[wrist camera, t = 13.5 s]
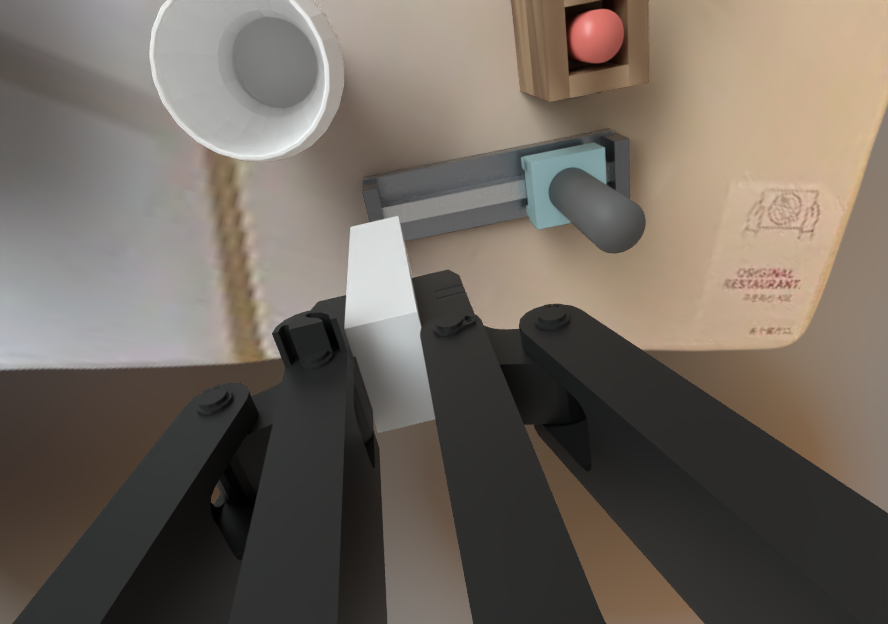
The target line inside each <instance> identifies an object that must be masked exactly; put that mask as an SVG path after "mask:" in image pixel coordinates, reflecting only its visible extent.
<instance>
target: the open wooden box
mask: <svg viewBox="0 0 888 624" xmlns="http://www.w3.org/2000/svg"><path fill="white" fill-rule="evenodd" d="M511 4H512V14H513V24H514V34H515V44H516V53H517V63H518V73H519V83H520V91H522V92H525V93H528V94H530V95H533V96H536V97H539V98H541V99H544V100H547V101H550V102H552V101H557V100H562V99H570V98H575V97H580V96H585V95H590V94H595V93H600V92H603V91H608V90H613V89H618V88H623V87H628V86H633V85H638V84H643V83H648V82H649V43H648V0H511ZM598 9H608V10H611V11H613V12H614V13H616V14H617V15H618V16H619V18H620V19H621V21H622V24H623V28H624V38H623V42H622V45H621V47H620V49H619V51H618V52H617V53H616V54H615V56H613V57H612V58H611V59H610V60H608V61H606V62H603V63H589V62H580V61H572V60H569V59H568V55H567V39H566V24H565V18H566V17H568V16H569V15H571V14H573V13H576V12H583V11H590V10H598Z"/></svg>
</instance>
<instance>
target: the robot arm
mask: <svg viewBox="0 0 888 624" xmlns="http://www.w3.org/2000/svg"><path fill="white" fill-rule="evenodd" d="M272 335H273V337H274V340H275V342H276V345H277V347H278V350H279V352H280V355H281V357H282V360H283V362H284V365H285V371H284V376H283V381H282V382H281V383H279V384H278V385H276V386H274V387H272V388H270V389H268V390H265V391H263V392H260V393H258V394H256V395H254V396H251V394H250V392H249V390H248V388H247V386H245V385H243V384H241V383H228V384H223V385H217V386H214V387H213V388H209V389H207V390H205V391H203V393H201V394H200V395H198V396H196V397H195V398H193V399H192V400H191V401H190V402H189V403H188V404H187V405H186V406H185V407H184V409H183V410H182V411H181V412H180V414H179V415H178V416H177V417H176V419H175V420H174V421H173V423H172V424H171V425H170V426H169V427H168V429H167V430H166V431H165V433H164V434H163V435H162V436H161V438H160V439H159V440H158V441H157V442H156V444H155V445H154V446H153V448H152V449H151V450H150V451H149V453H148V454H147V455H146V456H145V458H144V459H143V460H142V461H141V463H140V464H139V465H138V466H137V468H136V469H135V470H134V471H133V473H132V474H131V475H130V476H129V478H128V479H127V480H126V482H125V483H124V484H123V485H122V487H121V488H120V489H119V490H118V492H117V493H116V494H115V495H114V497H113V498H112V499H111V500H110V502H109V503H108V504H107V505H106V507H105V508H104V509H103V510H102V512H101V513H100V514H99V516H98V517H97V518H96V519H95V520H94V522H93V523H92V524H91V526H90V527H89V528H88V529H87V531H86V532H85V533H84V534H83V536H82V537H81V538H80V539H79V541H78V542H77V543H76V544H75V546H74V547H73V548H72V549H71V551H70V552H69V553H68V555H67V556H66V557H65V558H64V560H63V561H62V562H61V563H60V565H59V566H58V567H57V569H56V570H55V571H54V572H53V573H52V575H51V576H50V577H49V578H48V580H47V581H46V582H45V583H44V585H43V586H42V587H41V588H40V590H39V591H38V592H37V594H36V595H35V596H34V597H33V598H32V600H31V601H30V602H29V604H28V605H27V606H26V607H25V609H24V610H23V611H22V612H21V614H20V615H19V616H18V618H17V619H16V620H15V621H14V622H13V624H387V607H386V585H385V563H384V541H383V521H382V520H383V519H382V498H381V476H380V456H379V455H380V454H379V446H378V443H377V440H376V437H375V433H374V430H373V419H374V422H375V425H376V428H377V431H378V433H380V432H384V431H388V430H392V429H396V428H401V427H405V426H409V425H413V424H417V423H421V422H426V421H430V420H434V419H435V420H436V425H437V431H438V435H439V441H440V446H441V452H442V458H443V463H444V468H445V474H446V479H447V484H448V490H449V495H450V500H451V506H452V511H453V517H454V522H455V528H456V533H457V539H458V544H459V549H460V555H461V560H462V566H463V571H464V576H465V582H466V587H467V593H468V598H469V603H470V608H471V614H472V619H473V624H606V622H605V621H604V619H603V616H602V614H601V612H600V610H599V607H598V605H597V602H596V600H595V597H594V595H593V593H592V590H591V588H590V585H589V583H588V580H587V578H586V576H585V573H584V570H583V568H582V566H581V563H580V561H579V558H578V556H577V553H576V551H575V548H574V546H573V544H572V541H571V539H570V536H569V534H568V531H567V529H566V526H565V524H564V521H563V519H562V517H561V514H560V512H559V509H558V507H557V504H556V502H555V499H554V497H553V495H552V492H551V490H550V487H549V485H548V482H547V480H546V477H545V475H544V472H543V470H542V468H541V465H540V463H539V460H538V458H537V455H536V453H535V450H534V448H533V445H532V443H531V441H530V438H529V436H528V433H527V431H526V428H525V426H524V425H525V424H527V425H528V424H534V427H535V429H536V431H537V433H538V435H539V436H540V437H541V438H542V440H543V441H544V442H545V443H546V444H547V445H548V446H549V448H550V449H551V450H552V451H553V452H554V453H555V454H556V456H557V457H558V458H559V459H560V460H561V461H562V462H563V463H564V464H565V466H566V467H567V468H568V469H569V470H570V471H571V472H572V474H573V475H574V476H575V477H576V478H577V479H578V480H579V481H580V483H581V484H582V485H583V486H584V487H585V488H586V489H587V491H588V492H589V493H590V494H591V495H592V496H593V498H594V499H595V500H596V501H597V502H598V503H599V504H600V505H601V507H602V508H603V509H604V510H605V511H606V512H607V513H608V515H609V516H610V517H611V518H612V519H613V520H614V521H615V522H616V524H617V525H618V526H619V527H620V528H621V529H622V530H623V532H624V533H625V534H626V535H627V536H628V537H629V538H630V540H631V541H632V542H633V543H634V544H635V545H636V546H637V547H638V549H639V550H641V552H642V553H643V554H644V555H645V556H646V558H647V559H648V560H649V561H650V562H651V563H652V565H653V566H654V567H655V568H656V569H657V570H658V571H659V572H660V573H661V575H662V576H663V577H664V578H665V579H666V580H667V582H668V583H669V584H671V586H672V587H673V588H674V589H675V591H676V592H677V593H678V594H679V595H680V596H681V597H682V599H683V600H684V601H685V602H686V603H687V604H688V605H689V607H690V608H691V609H692V610H693V611H694V612H695V613H696V614H697V616H699V618H700V619H701V620H702V621H703V622H704V623H705V624H888V513H887V512H885V511H884V510H882V509H881V508H879V507H878V506H876V505H875V504H873V503H871V502H870V501H869V500H867V499H866V498H864V497H863V496H861V495H859V494H858V493H856V492H855V491H853V490H852V489H850V488H849V487H847V486H845V485H844V484H843V483H841V482H840V481H838V480H837V479H835V478H834V477H832V476H831V475H829V474H828V473H826V472H825V471H823V470H822V469H820V468H819V467H817V466H816V465H814V464H813V463H811V462H810V461H808V460H807V459H805V458H804V457H802V456H801V455H799V454H798V453H796V452H795V451H793V450H792V449H790V448H789V447H787V446H786V445H784V444H783V443H781V442H779V441H778V440H777V439H775V438H773V437H772V436H770V435H769V434H768V433H766V432H765V431H763V430H761V429H760V428H759V427H757V426H756V425H754V424H752V423H751V422H750V421H748V420H746V419H745V418H743V417H742V416H740V415H739V414H737V413H736V412H734V411H733V410H731V409H730V408H728V407H727V406H725V405H724V404H722V403H721V402H719V401H718V400H716V399H715V398H713V397H712V396H710V395H709V394H707V393H706V392H704V391H703V390H701V389H700V388H698V387H697V386H695V385H694V384H692V383H691V382H689V381H688V380H686V379H685V378H683V377H682V376H680V375H679V374H677V373H676V372H674V371H673V370H671V369H670V368H668V367H667V366H665V365H664V364H662V363H661V362H659V361H658V360H656V359H655V358H653V357H652V356H650V355H649V354H647V353H646V352H644V351H643V350H641V349H640V348H638V347H637V346H635V345H634V344H632V343H630V342H629V341H627V340H626V339H624V338H623V337H621V336H620V335H618V334H617V333H615V332H614V331H612V330H611V329H609V328H608V327H606V326H605V325H603V324H602V323H600V322H599V321H597V320H596V319H594V318H593V317H591V316H590V315H588V314H587V313H585V312H584V311H582V310H581V309H578V308H576V307H574V306H570V305H563V304H553V305H552V304H548V305H544V306H542V307H538V308H535V309H533V310H531V311H529V312H527V313H526V314H525V315H524V316H523V317H522V318H521V319H520V323H519V329H509V330H506V329H493V328H489V327H486V326H484V325H483V323H482V320H481V319H480V318H479V317H478V316H477V315H475V314H474V312H473V309H472V307H471V304H470V302H469V299H468V297H467V294H466V292H465V289H464V287H463V284H462V282H461V279H460V277H459V275H457V274H456V273H454V272H452V271H450V270H444V271H440V272H436V273H432V274H427V275H423V276H419V277H415V278H413V274H412V270H411V266H410V262H409V258H408V254H407V250H406V245H405V241H404V237H403V233H402V229H401V225H400V221H399V217H398V216H395V217H391V218H387V219H382V220H378V221H374V222H370V223H365V224H361V225H357V226H352V227H350V241H349V258H348V275H347V292H346V295H345V296H341V297H336V298H332V299H328V300H324V301H319V302H317V304H316V305H315V306H314V307H313V308H312V309H311V310H310V311H306V312H303V313H300V314H297V315H294V316H292V317H290V318H288V319H286V320H284V321H283V322H282V323H281V324H279V325H278V326H277V327H276V328H275V330H274V331H273V333H272ZM215 486H217V488H218V490H219V492H220V496H219V498H218V499H217V501H216V503H215V504H214V505H213V504H212V503H211V495H212V493H213V491H214V488H215Z"/></svg>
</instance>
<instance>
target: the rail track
mask: <svg viewBox="0 0 888 624" xmlns="http://www.w3.org/2000/svg"><path fill="white" fill-rule="evenodd" d="M593 142H594V143H596V144H598V145H600V146H603V147H605V160H606V185H608V186H609V187H611V188H612V189H614V190H615V191H617V192H619V193H620V194H622V195H623V196H625V197H627V198H628V199H630V175H629V139H628V138H626V137H623V136H621V135H618V134H616V133H615V131H614V130H611V129H605V130H600V131H595V132H590V133H585V134H580V135H575V136H570V137H565V138H560V139H555V140H550V141H545V142H540V143H535V144H530V145H525V146H520V147H515V148H510V149H505V150H499V151H494V152H489V153H484V154H479V155H474V156H469V157H464V158H459V159H454V160H449V161H444V162H439V163H434V164H429V165H424V166H419V167H414V168H409V169H404V170H399V171H394V172H389V173H384V174H379V175H374V176H369V177H364V178H363V190H362V192H363V196H364V201H365V205H366V209H367V213H368V217H369V221H370V222H374V221H378V220H382V219H387V218H391V217H395V216H398V217H399V221H400V225H401V229H402V233H403V237H404V241H408V240H413V239H418V238H423V237H428V236H433V235H438V234H443V233H448V232H453V231H458V230H463V229H467V228H472V227H477V226H482V225H487V224H492V223H497V222H502V221H507V220H512V219H517V218H522V217H527V210H526V205H528V198H527V188H526V179H525V170H524V169H523V168H522V163H521V157H523V156H528V155H533V154H538V153H543V152H548V151H553V150H558V149H563V148H568V147H573V146H578V145H583V144H588V143H593Z"/></svg>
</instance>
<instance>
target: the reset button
mask: <svg viewBox="0 0 888 624" xmlns="http://www.w3.org/2000/svg"><path fill="white" fill-rule="evenodd" d="M565 24H566V39H567V55H568V59H569V60H572V61H580V62H589V63H603V62H606V61H608V60H610V59H611V58H612V57H613V56H615V54H616V53H617V52H618V51H619V49H620V47H621V45H622V42H623V38H624V28H623V24H622V21H621V19H620V18H619V16H618V15H617V14H616V13H614V12H613V11H611V10H608V9H598V10H590V11H583V12H576V13H573V14H571V15H569V16H568V17H566V18H565Z"/></svg>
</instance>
